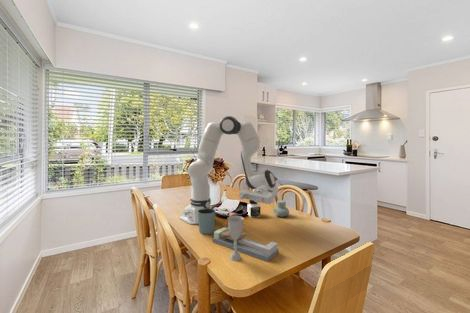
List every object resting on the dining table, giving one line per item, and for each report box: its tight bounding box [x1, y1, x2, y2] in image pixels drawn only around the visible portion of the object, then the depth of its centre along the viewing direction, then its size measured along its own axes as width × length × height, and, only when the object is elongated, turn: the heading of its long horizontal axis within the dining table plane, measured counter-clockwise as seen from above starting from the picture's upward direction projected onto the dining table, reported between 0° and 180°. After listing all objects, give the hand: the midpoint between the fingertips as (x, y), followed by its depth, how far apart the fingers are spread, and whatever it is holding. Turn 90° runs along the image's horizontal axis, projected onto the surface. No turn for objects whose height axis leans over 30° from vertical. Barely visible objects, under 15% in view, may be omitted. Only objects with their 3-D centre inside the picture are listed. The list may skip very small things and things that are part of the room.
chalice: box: [226, 215, 245, 262], centre depth 104 cm, size 7×7×18 cm
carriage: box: [221, 212, 247, 241], centre depth 118 cm, size 10×8×12 cm
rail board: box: [212, 226, 279, 263], centre depth 115 cm, size 32×10×5 cm, turn 53°
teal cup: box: [197, 208, 216, 235], centre depth 134 cm, size 10×10×12 cm
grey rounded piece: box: [272, 199, 290, 218], centre depth 161 cm, size 11×8×10 cm
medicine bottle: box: [246, 200, 261, 218], centre depth 161 cm, size 7×7×12 cm
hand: (248, 199), depth 129 cm, fingers open, 8 cm apart
